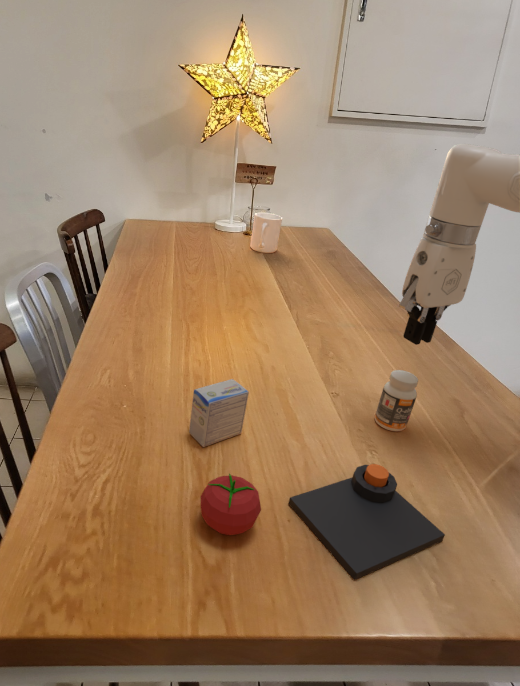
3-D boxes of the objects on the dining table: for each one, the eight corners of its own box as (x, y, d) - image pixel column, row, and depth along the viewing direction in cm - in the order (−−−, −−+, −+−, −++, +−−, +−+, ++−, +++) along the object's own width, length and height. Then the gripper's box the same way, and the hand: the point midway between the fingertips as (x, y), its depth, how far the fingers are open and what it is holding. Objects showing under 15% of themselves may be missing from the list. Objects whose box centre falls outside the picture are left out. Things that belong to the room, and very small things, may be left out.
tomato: (191, 538, 68) (197, 492, 65) (203, 497, 75) (209, 453, 72) (253, 553, 67) (262, 507, 64) (260, 509, 74) (269, 466, 71)
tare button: (375, 471, 81) (378, 461, 80) (390, 484, 78) (393, 475, 78) (359, 476, 79) (362, 466, 79) (374, 490, 77) (377, 480, 76)
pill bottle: (395, 436, 94) (411, 388, 90) (367, 420, 98) (381, 373, 93) (411, 426, 98) (427, 379, 93) (384, 411, 102) (398, 365, 97)
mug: (275, 247, 192) (281, 214, 187) (278, 257, 182) (284, 222, 176) (249, 243, 192) (254, 211, 186) (250, 253, 181) (255, 219, 176)
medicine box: (226, 420, 92) (232, 377, 88) (242, 434, 89) (249, 390, 85) (187, 433, 88) (193, 388, 84) (203, 448, 85) (209, 402, 81)
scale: (371, 476, 84) (376, 460, 82) (442, 540, 73) (449, 524, 72) (287, 503, 76) (291, 487, 75) (354, 580, 66) (360, 563, 64)
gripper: (435, 241, 75) (399, 356, 84) (504, 237, 83) (465, 344, 91) (396, 226, 81) (366, 336, 89) (464, 224, 88) (431, 325, 97)
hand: (416, 339), depth 90 cm, fingers closed
